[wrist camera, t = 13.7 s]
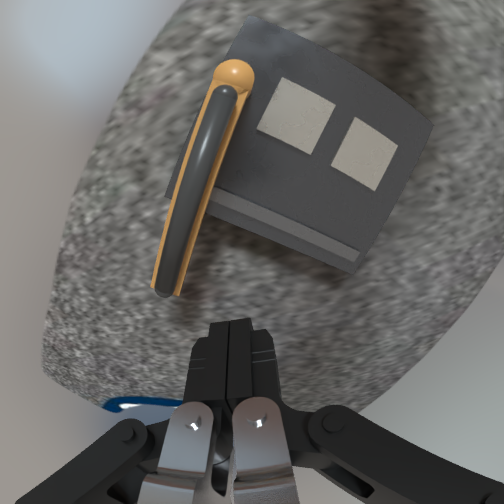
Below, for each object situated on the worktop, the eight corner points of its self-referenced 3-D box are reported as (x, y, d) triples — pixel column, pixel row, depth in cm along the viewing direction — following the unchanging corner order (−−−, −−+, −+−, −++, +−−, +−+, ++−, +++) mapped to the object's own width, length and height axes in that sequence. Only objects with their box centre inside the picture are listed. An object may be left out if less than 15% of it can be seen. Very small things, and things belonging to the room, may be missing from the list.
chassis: (248, 25, 20) (249, 13, 17) (418, 123, 24) (436, 125, 21) (172, 189, 27) (163, 197, 24) (344, 261, 31) (354, 276, 28)
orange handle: (256, 79, 20) (262, 61, 13) (189, 265, 27) (176, 308, 20) (225, 69, 19) (219, 48, 13) (164, 257, 26) (143, 297, 20)
